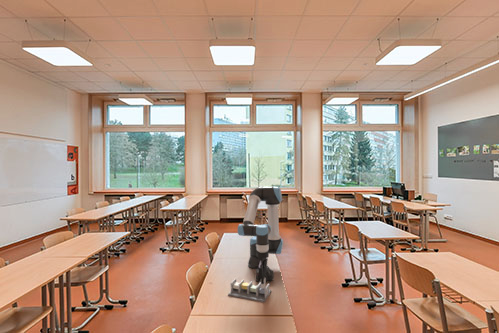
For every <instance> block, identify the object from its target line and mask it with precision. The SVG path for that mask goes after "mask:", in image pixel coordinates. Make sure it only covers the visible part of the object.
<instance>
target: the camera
mask: <svg viewBox="0 0 499 333" xmlns="http://www.w3.org/2000/svg"><path fill="white" fill-rule="evenodd" d="M274 273H275V272H274V270H273V269H271V268H270V267H269V266H268V265H267V275H266V276H267V277H265V280H266V282H273V280H274V279H275V276H274V275H275V274H274ZM254 276H255V281H256V282H257V283H258V282H259V283H260V282H261V279H260V278H259V271H258V269H255V275H254Z"/></svg>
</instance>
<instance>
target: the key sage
mask: <svg viewBox="0 0 499 333" xmlns="http://www.w3.org/2000/svg"><path fill="white" fill-rule="evenodd" d="M256 287H257V285H255V284H252V286H251V287H250V291H251V292H256Z"/></svg>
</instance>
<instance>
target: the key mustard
mask: <svg viewBox="0 0 499 333" xmlns="http://www.w3.org/2000/svg"><path fill="white" fill-rule="evenodd" d="M249 283H250V282H245V281H244V283H243V284H242V285H241V286H242V289H247V285H248V284H249Z"/></svg>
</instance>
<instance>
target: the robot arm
mask: <svg viewBox="0 0 499 333" xmlns="http://www.w3.org/2000/svg"><path fill="white" fill-rule="evenodd" d="M282 201H283V194H282V189H281V188H280V187H279V186H258V187H256V188H254V189H252V191H251V193H250V194H249V196H248V204H247V207H246V211H245V214H244V218H243V222H242V223H239V224H238V225H237V235H238V236H243V237H251V238H250V239H249V259H248V262H247V264H248V265H247V266H248V268H250V269H254V270H257V269H258V271H259V278H260V279H261V281H260V282H261V288H262V289H265V287H266V286H267V284H266V280H265V277H267V276H266V275H267V266H268V260H269V259H268V258H269V254H271V255H280V254H282V252H283V245H284V239H283V238H282V236H281V235H280V227H279V226H280V224H279V206H280V205H281V202H282ZM261 202H264V204H265V205H266V207H267V223H264V224H255V219H256V216H257V212H258V207H259V205H260V203H261Z"/></svg>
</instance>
